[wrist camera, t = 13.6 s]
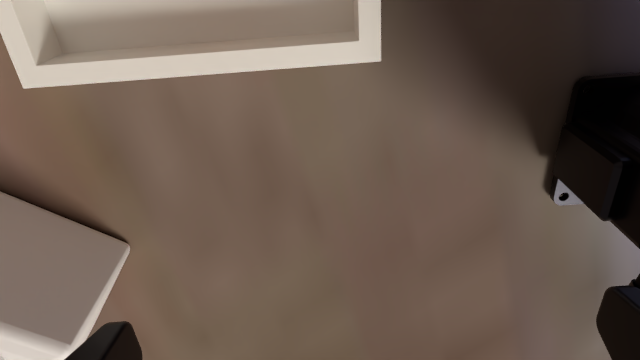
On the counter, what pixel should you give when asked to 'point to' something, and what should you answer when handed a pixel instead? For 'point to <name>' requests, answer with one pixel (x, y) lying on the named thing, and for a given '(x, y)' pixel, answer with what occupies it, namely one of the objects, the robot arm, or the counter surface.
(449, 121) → the counter surface
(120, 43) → the tray
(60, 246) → the medicine bottle
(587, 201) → the robot arm
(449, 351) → the counter surface
